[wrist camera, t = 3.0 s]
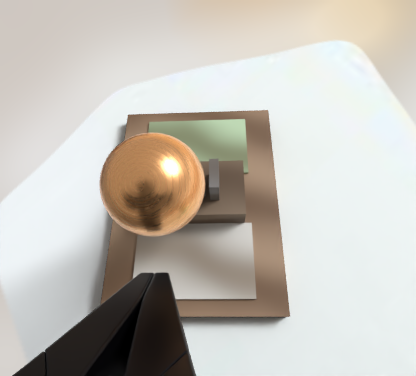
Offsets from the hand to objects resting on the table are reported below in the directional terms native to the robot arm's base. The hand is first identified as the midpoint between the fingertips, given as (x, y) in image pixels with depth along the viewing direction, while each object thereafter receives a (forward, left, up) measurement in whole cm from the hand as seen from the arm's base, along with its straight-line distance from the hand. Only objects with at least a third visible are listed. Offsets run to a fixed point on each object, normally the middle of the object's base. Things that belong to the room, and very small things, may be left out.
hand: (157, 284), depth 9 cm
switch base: (+6, -5, -12) cm, 14 cm away
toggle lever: (+6, -5, -9) cm, 12 cm away
